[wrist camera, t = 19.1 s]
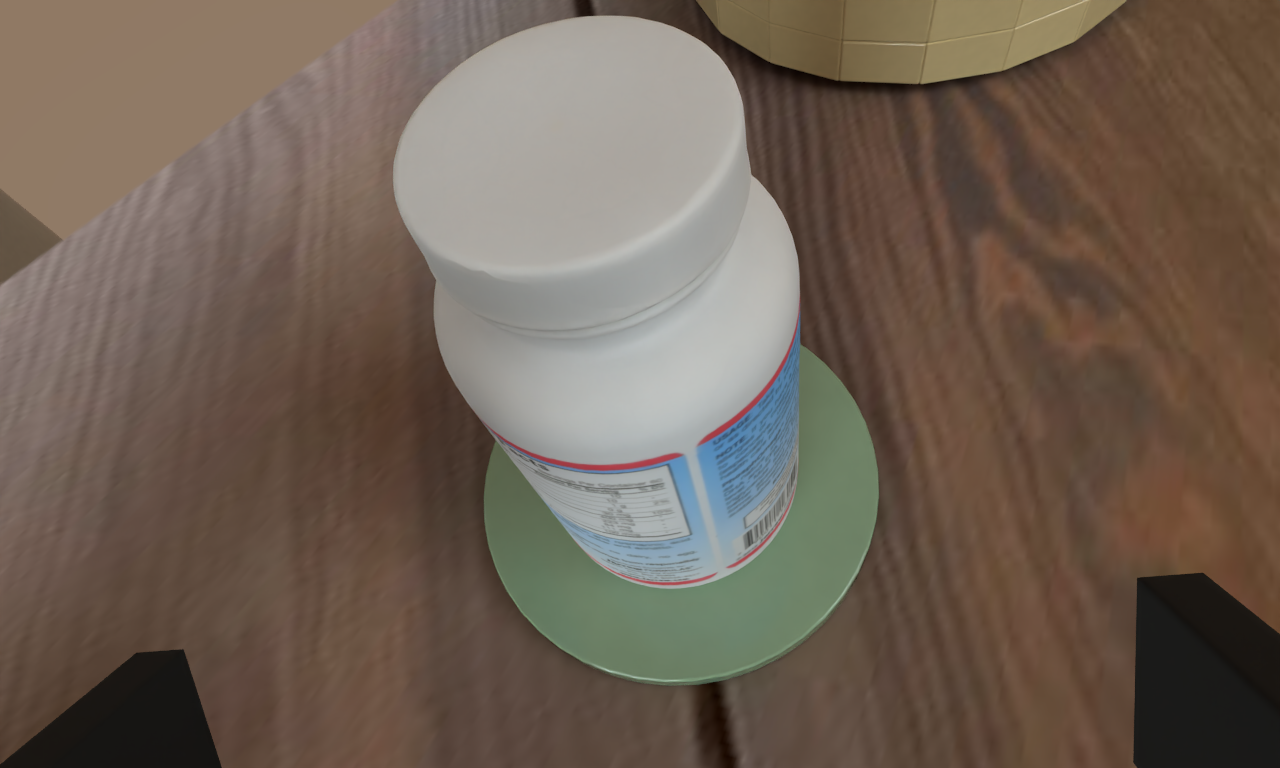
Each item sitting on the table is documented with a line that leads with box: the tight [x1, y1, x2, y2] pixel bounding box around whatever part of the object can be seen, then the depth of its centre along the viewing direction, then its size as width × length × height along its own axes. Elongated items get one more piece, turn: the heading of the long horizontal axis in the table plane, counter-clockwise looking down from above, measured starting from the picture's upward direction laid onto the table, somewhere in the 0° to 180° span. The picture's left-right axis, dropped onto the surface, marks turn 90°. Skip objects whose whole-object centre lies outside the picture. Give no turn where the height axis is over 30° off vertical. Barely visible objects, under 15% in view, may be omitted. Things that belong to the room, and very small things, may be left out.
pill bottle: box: [393, 16, 800, 589], centre depth 15 cm, size 6×6×11 cm
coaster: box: [484, 344, 879, 686], centre depth 20 cm, size 10×10×1 cm
